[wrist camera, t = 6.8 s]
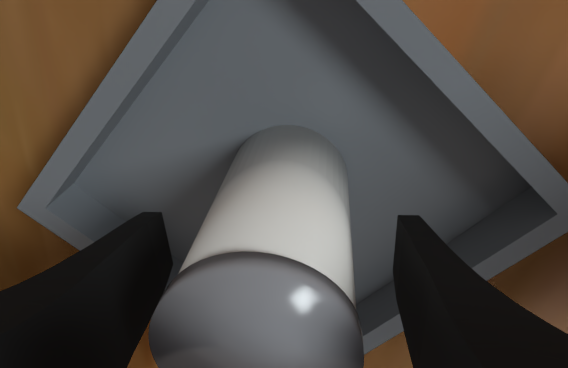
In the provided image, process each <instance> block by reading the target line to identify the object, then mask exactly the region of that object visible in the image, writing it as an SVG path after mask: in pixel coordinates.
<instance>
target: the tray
mask: <svg viewBox="0 0 568 368" xmlns="http://www.w3.org/2000/svg"><path fill="white" fill-rule="evenodd" d="M279 125H295V126H301V127H305V128H308V129H311V130H313V131H315V132H317V133H319V134H321V135H322V136H324V137H325V138H327V139H328V140H329V141H330V142H331V143H332V144H333V145H334V146H335V147H336V148H337V149H338V151H339V152H340V154H341V156H342V158H343V160H344V162H345V165H346V169H347V175H348V190H349V206H350V221H351V237H352V253H353V268H354V284H355V299H356V311H357V313H358V316H359V319H360V322H361V327H362V335H363V349H364V354H366V353H368V352H369V351H371V350H373V349H374V348H376V347H378V346H379V345H381V344H383V343H384V342H386V341H388V340H389V339H391V338H393V337H394V336H396V335H398V334H399V333H401V332H403V331H404V329H403V325H402V321H401V317H400V313H399V309H398V305H397V301H396V294H395V286H394V277H393V261H394V250H395V239H396V228H397V217H398V215H419V216H420V217H421V218H422V219H423V220H424V221H425V222H426V223H427V224H428V225H429V226H430V227H431V228H432V230H433V231H434V232H435V233H436V234H437V235H438V236H439V237H440V238H441V239H442V240H443V241H444V242H445V243H446V244H447V245H448V247H449V248H450V249H451V250H453V251H454V252H455V253H456V254H457V255H458V256H459V257H460V258H461V259H462V260H463V261H464V262H465V263H466V264H467V265H468V266H469V267H471V268H472V269H473V270H474V271H475V272H476V273H478V274H479V275H480V276H481V277H482V278H483V279H485V280H486V281H487V280H489V279H490V278H492V277H494V276H495V275H497V274H499V273H500V272H502V271H504V270H505V269H507V268H509V267H510V266H512V265H514V264H515V263H517V262H519V261H520V260H522V259H524V258H525V257H527V256H529V255H530V254H532V253H534V252H535V251H537V250H538V249H540V248H542V247H543V246H545V245H547V244H548V243H550V242H552V241H553V240H555V239H557V238H558V237H560V236H562V235H563V234H565V233H567V232H568V183H567V182H566V181H565V180H564V178H563V177H562V176H561V175H560V174H559V173H558V172H557V171H556V170H555V169H554V167H553V166H552V165H551V164H550V163H549V162H548V161H547V160H546V159H545V158H544V156H543V155H542V154H541V153H540V152H539V151H538V150H537V149H536V148H535V146H534V145H533V144H532V143H531V142H530V141H529V140H528V139H527V138H526V137H525V135H524V134H523V133H522V132H521V131H520V130H519V129H518V128H517V127H516V126H515V124H514V123H513V122H512V121H511V120H510V119H509V118H508V117H507V116H506V115H505V113H504V112H503V111H502V110H501V109H500V108H499V107H498V106H497V105H496V104H495V102H494V101H493V100H492V99H491V98H490V97H489V96H488V95H487V94H486V92H485V91H484V90H483V89H482V88H481V87H480V86H479V85H478V84H477V83H476V81H475V80H474V79H473V78H472V77H471V76H470V75H469V74H468V73H467V72H466V70H465V69H464V68H463V67H462V66H461V65H460V64H459V63H458V62H457V61H456V59H455V58H454V57H453V56H452V55H451V54H450V53H449V52H448V51H447V49H446V48H445V47H444V46H443V45H442V44H441V43H440V42H439V41H438V40H437V38H436V37H435V36H434V35H433V34H432V33H431V32H430V31H429V30H428V29H427V27H426V26H425V25H424V24H423V23H422V22H421V21H420V20H419V19H418V18H417V16H416V15H415V14H414V13H413V12H412V11H411V10H410V9H409V8H408V6H407V5H406V4H405V3H404V2H403V1H402V0H157V1H156V3H155V4H154V6H153V7H152V9H151V10H150V12H149V13H148V15H147V16H146V18H145V19H144V21H143V22H142V24H141V25H140V26H139V28H138V29H137V31H136V32H135V34H134V35H133V37H132V38H131V40H130V41H129V43H128V44H127V46H126V47H125V49H124V50H123V52H122V53H121V55H120V56H119V58H118V59H117V60H116V62H115V63H114V65H113V66H112V68H111V69H110V71H109V72H108V74H107V75H106V77H105V78H104V80H103V81H102V83H101V84H100V86H99V87H98V89H97V90H96V92H95V93H94V94H93V96H92V97H91V99H90V100H89V102H88V103H87V105H86V106H85V108H84V109H83V111H82V112H81V114H80V115H79V117H78V118H77V120H76V121H75V123H74V124H73V126H72V127H71V128H70V130H69V131H68V133H67V134H66V136H65V137H64V139H63V140H62V142H61V143H60V145H59V146H58V148H57V149H56V151H55V152H54V154H53V155H52V157H51V158H50V160H49V161H48V163H47V164H46V165H45V167H44V168H43V170H42V171H41V173H40V174H39V176H38V177H37V179H36V180H35V182H34V183H33V185H32V186H31V188H30V189H29V191H28V192H27V194H26V195H25V197H24V198H23V199H22V201H21V202H20V204H19V205H18V207H17V208H18V209H19V210H21V211H22V212H24V213H25V214H27V215H28V216H30V217H31V218H32V219H34V220H35V221H37V222H38V223H40V224H41V225H43V226H44V227H46V228H47V229H49V230H50V231H52V232H53V233H55V234H56V235H58V236H59V237H60V238H62V239H63V240H65V241H66V242H68V243H69V244H71V245H72V246H74V247H75V248H77V249H78V250H80V251H81V250H82V249H84V248H86V247H87V246H89V245H91V244H92V243H94V242H95V241H97V240H98V239H100V238H102V237H103V236H105V235H106V234H108V233H109V232H111V231H112V230H114V229H115V228H117V227H119V226H120V225H122V224H123V223H125V222H126V221H128V220H130V219H131V218H133V217H135V216H136V215H138V214H140V213H142V212H162V215H163V220H164V224H165V229H166V233H167V238H168V242H169V247H170V251H171V256H172V260H173V267H172V270H171V273H170V276H169V279H168V282H167V285H166V288H167V286H168V285H169V284H170V282H171V281H172V280H173V279H174V278H175V277H176V276H177V275H178V273H179V271H180V269H181V267H182V265H183V263H184V261H185V259H186V257H187V255H188V253H189V251H190V249H191V246H192V244H193V242H194V240H195V238H196V236H197V234H198V232H199V230H200V228H201V226H202V224H203V222H204V220H205V218H206V216H207V214H208V212H209V209H210V207H211V205H212V203H213V201H214V199H215V197H216V195H217V193H218V191H219V189H220V187H221V185H222V183H223V181H224V179H225V177H226V175H227V172H228V170H229V168H230V166H231V164H232V162H233V160H234V158H235V156H236V154H237V152H238V150H239V149H240V147H241V146H242V145H243V144H244V143H245V141H246V140H247V139H249V138H250V137H251V136H252V135H254V134H256V133H257V132H259V131H261V130H264V129H266V128H269V127H273V126H279ZM166 288H165V290H166ZM164 292H165V291H164ZM163 294H164V293H163ZM162 296H163V295H162ZM161 298H162V297H161ZM160 300H161V299H160ZM159 302H160V301H159ZM158 304H159V303H158Z"/></svg>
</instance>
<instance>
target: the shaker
mask: <svg viewBox="0 0 568 368" xmlns="http://www.w3.org/2000/svg"><path fill="white" fill-rule="evenodd" d="M149 345H150V349H151V352H152V355H153V358H154V360H155V362H156V364H157V366H158V367H159V368H363V366H364V349H363V335H362V327H361V322H360V319H359V316H358V313H357V311H356V299H355V284H354V268H353V253H352V237H351V221H350V206H349V190H348V175H347V169H346V165H345V162H344V160H343V158H342V156H341V154H340V152H339V151H338V149H337V148H336V147H335V146H334V145H333V144H332V143H331V142H330V141H329V140H328V139H327V138H325V137H324V136H322V135H321V134H319V133H317V132H315V131H313V130H311V129H308V128H305V127H301V126H295V125H279V126H273V127H269V128H266V129H264V130H261V131H259V132H257V133H256V134H254V135H252V136H251V137H250V138H249V139H247V140H246V141H245V143H244V144H243V145H242V146H241V147H240V149H239V150H238V152H237V154H236V156H235V158H234V160H233V162H232V164H231V166H230V168H229V170H228V172H227V175H226V177H225V179H224V181H223V183H222V185H221V187H220V189H219V191H218V193H217V195H216V197H215V199H214V201H213V203H212V205H211V207H210V209H209V212H208V214H207V216H206V218H205V220H204V222H203V224H202V226H201V228H200V230H199V232H198V234H197V236H196V238H195V240H194V242H193V244H192V246H191V249H190V251H189V253H188V255H187V257H186V259H185V261H184V263H183V265H182V267H181V269H180V271H179V273H178V275H177V276H176V277H175V278H174V279H173V280H172V281H171V282H170V284H169V285H168V286H167V288H166V290H165V292H164V294H163V296H162V298H161V300H160V302H159V304H158V306H157V308H156V310H155V312H154V314H153V316H152V318H151V322H150V325H149Z"/></svg>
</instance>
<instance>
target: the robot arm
mask: <svg viewBox="0 0 568 368" xmlns="http://www.w3.org/2000/svg"><path fill="white" fill-rule="evenodd" d="M172 267H173V260H172V256H171V251H170V247H169V242H168V238H167V233H166V229H165V224H164V220H163V215H162V212H142V213H140V214H138V215H136V216H135V217H133V218H131V219H130V220H128V221H126V222H125V223H123V224H122V225H120V226H119V227H117V228H115V229H114V230H112V231H111V232H109V233H108V234H106V235H105V236H103V237H102V238H100V239H98V240H97V241H95V242H94V243H92V244H91V245H89V246H87V247H86V248H84V249H82V250H81V251H79V252H77V253H76V254H74V255H72V256H70V257H69V258H67V259H65V260H64V261H62V262H60V263H59V264H57V265H55V266H53V267H51V268H49V269H47V270H46V271H44V272H42V273H40V274H38V275H36V276H34V277H31V278H29V279H27V280H25V281H23V282H21V283H19V284H17V285H14V286H12V287H10V288H7V289H5V290H2V291H0V368H127V366H128V364H129V361H130V359H131V357H132V355H133V353H134V351H135V349H136V347H137V345H138V343H139V341H140V339H141V337H142V335H143V333H144V331H145V329H146V327H147V325H148V323H149V321H150V319H151V317H152V315H153V313H154V311H155V309H156V307H157V305H158V303H159V301H160V299H161V297H162V295H163V293H164V291H165V288H166V285H167V282H168V279H169V276H170V273H171V270H172ZM393 277H394V286H395V294H396V301H397V305H398V309H399V313H400V317H401V321H402V325H403V329H404V333H405V337H406V341H407V345H408V349H409V353H410V357H411V361H412V364H413V368H568V334H567V333H565V332H563V331H561V330H560V329H558V328H556V327H554V326H553V325H551V324H549V323H547V322H546V321H544V320H542V319H541V318H539V317H538V316H536V315H534V314H533V313H531V312H530V311H528V310H526V309H525V308H523V307H522V306H520V305H519V304H517V303H516V302H514V301H513V300H511V299H510V298H509V297H507V296H506V295H504V294H503V293H502V292H500V291H499V290H498V289H496V288H495V287H494V286H492V285H491V284H490V283H488V282H487V281H486V280H485V279H483V278H482V277H481V276H480V275H479V274H478V273H476V272H475V271H474V270H473V269H472V268H471V267H469V266H468V265H467V264H466V263H465V262H464V261H463V260H462V259H461V258H460V257H459V256H458V255H457V254H456V253H455V252H454V251H453V250H451V249H450V248H449V247H448V245H447V244H446V243H445V242H444V241H443V240H442V239H441V238H440V237H439V236H438V235H437V234H436V233H435V232H434V231H433V230H432V228H431V227H430V226H429V225H428V224H427V223H426V222H425V221H424V220H423V219H422V218H421V217H420V216H419V215H398V217H397V228H396V239H395V250H394V261H393Z"/></svg>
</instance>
